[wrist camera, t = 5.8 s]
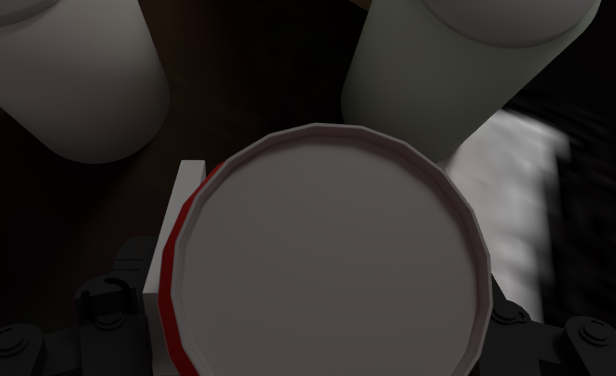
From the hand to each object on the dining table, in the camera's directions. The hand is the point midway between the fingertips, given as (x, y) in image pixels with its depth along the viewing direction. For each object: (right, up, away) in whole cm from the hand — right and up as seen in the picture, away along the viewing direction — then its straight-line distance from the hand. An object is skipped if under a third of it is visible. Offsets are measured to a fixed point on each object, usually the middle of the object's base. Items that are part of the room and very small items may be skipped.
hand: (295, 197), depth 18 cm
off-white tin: (-10, +5, +7) cm, 13 cm away
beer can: (-1, -5, +5) cm, 8 cm away
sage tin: (+5, +4, +8) cm, 11 cm away
